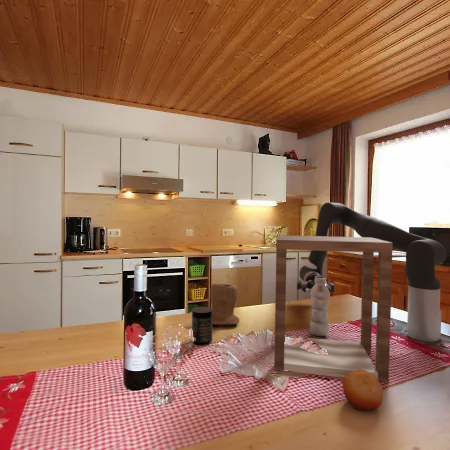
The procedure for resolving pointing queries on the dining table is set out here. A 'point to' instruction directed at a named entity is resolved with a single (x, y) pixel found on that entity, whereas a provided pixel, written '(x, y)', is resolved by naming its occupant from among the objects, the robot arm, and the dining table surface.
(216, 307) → the brown ankle boot
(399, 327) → the dining table surface
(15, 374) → the dining table surface
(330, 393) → the dining table surface
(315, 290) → the plastic bottle
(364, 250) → the walnut shelf
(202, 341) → the supplement container
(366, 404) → the fruit
